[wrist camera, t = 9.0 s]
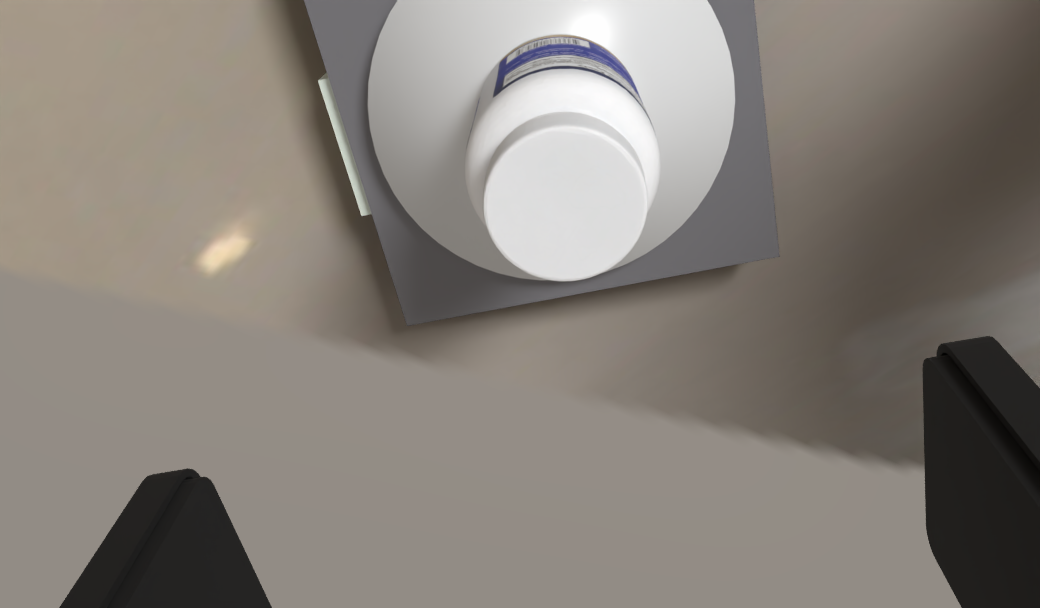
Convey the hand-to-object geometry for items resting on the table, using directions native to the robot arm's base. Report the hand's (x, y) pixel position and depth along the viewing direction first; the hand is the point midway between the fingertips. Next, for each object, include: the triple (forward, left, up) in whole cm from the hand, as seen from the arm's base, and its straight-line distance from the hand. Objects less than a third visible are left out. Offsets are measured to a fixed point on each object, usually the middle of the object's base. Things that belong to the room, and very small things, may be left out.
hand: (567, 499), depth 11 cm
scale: (0, 0, -23) cm, 23 cm away
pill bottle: (0, 0, -20) cm, 20 cm away
